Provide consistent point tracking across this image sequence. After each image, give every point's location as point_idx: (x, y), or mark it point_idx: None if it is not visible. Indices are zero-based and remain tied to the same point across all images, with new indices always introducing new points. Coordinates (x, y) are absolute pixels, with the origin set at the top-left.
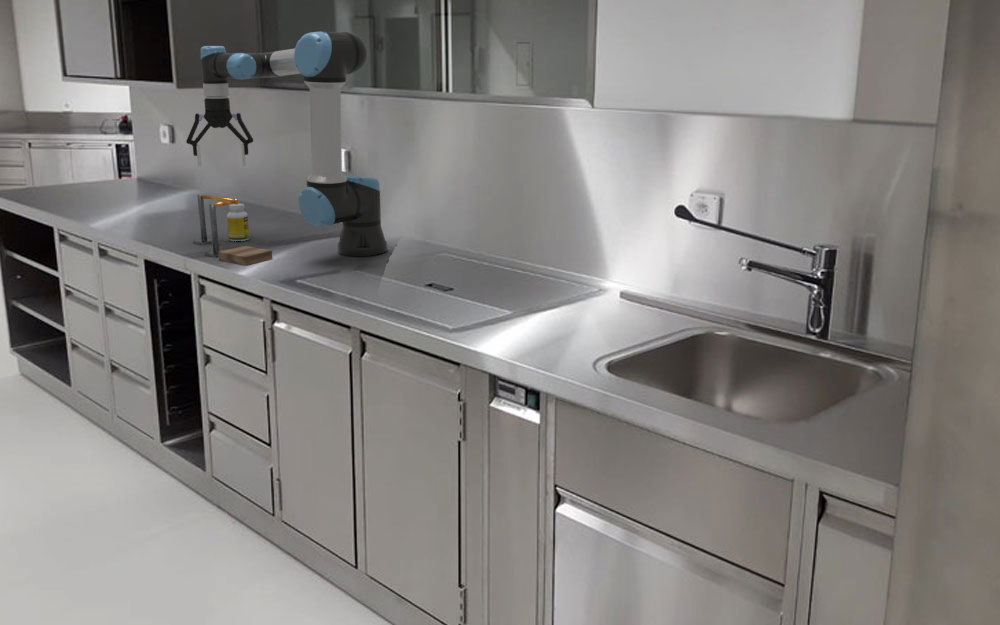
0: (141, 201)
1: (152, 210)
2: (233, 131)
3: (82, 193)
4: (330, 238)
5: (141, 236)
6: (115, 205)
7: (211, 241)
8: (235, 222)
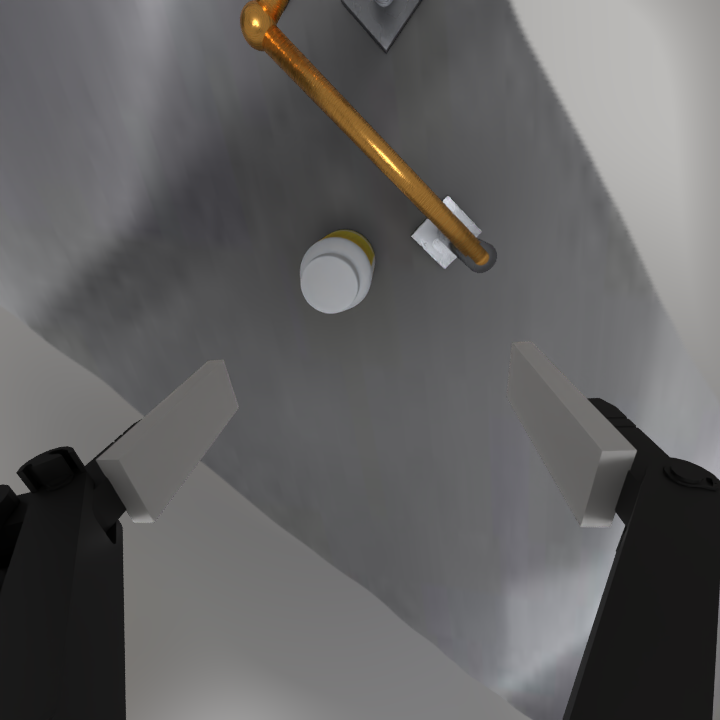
0: None
1: (577, 590)
2: (37, 652)
3: None
4: (99, 253)
5: (630, 345)
6: None
7: (423, 222)
8: (339, 235)
